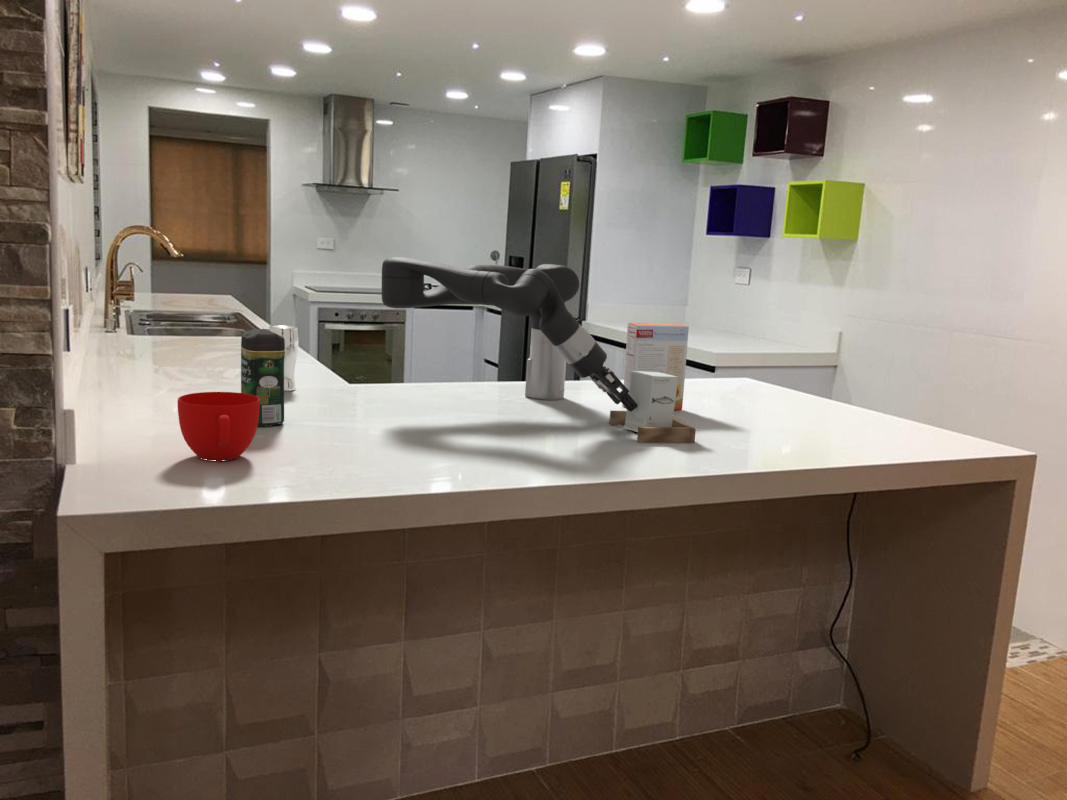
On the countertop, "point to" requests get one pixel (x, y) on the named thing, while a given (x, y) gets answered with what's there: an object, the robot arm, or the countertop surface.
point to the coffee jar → (264, 373)
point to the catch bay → (658, 430)
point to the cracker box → (657, 352)
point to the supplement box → (651, 400)
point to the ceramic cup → (218, 423)
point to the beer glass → (288, 352)
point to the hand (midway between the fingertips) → (627, 405)
